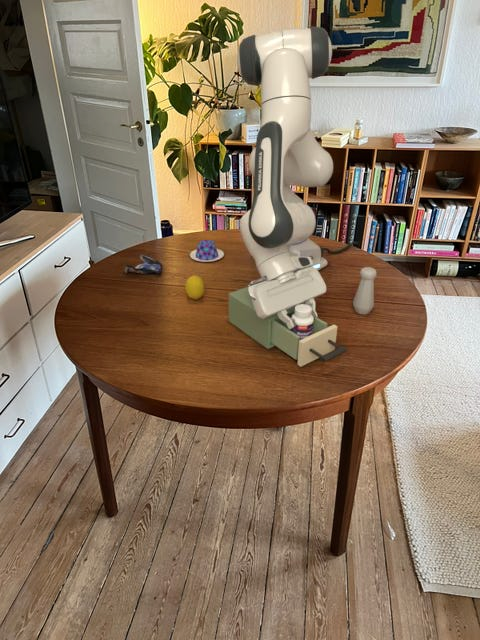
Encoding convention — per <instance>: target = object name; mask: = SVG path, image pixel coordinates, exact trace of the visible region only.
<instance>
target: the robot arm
mask: <svg viewBox="0 0 480 640" xmlns="http://www.w3.org/2000/svg"><path fill="white" fill-rule="evenodd" d="M331 41H332V40H331V39H330V36H329V33H328V32H327V30H326V29H325V28H324V27H320V26H310V28H309V27H293V28H292V27H290V28H283V29H281V30H274V31H269V32H265V33H261V34H258V35H256V34H252V35H249V36H247V37H245V38H243V39H242V40H241V41H240V43H239V45H238V51H237V54H236V65H237V69H238V72H239V74H240V77H241V80H242V81H243V82H244V83H246V84H247V85H249V86H255V87H259V86H260V85H261V86H260V107H261V108H260V109H261V111H260V113H261V115H260V117H261V119H260V127H259V130H258V133H257V136H256V141H255V147H254V148H253V149H252V151H250V152H251V153H250V154H249V157H248V170H249V172H250V175H251V176H252V177H253V196H252V202H251V207H250V209H248V210H247V211H245V213H244V214H243V215H242V216H241V218H240V219H239V224H238V225H239V232H240V235H241V238H242V241H243V243H244V245H245V247H246V249H247V251H248V253H249V255H250V256H251V258H253V260H254V263H255V268H256V270H257V272H258V274H259V276H260V277H259V278H257V279H253V280H251V281H249V283H248V285H247V286H246V287H247V290H248V293H249V295H250V297H251V299H252V302H253V305H254V308H255V311H256V313H257V316H258V317H259V318H261V319H265V318H268V317H270V316H273V315H275V314H277V315H278V317H279V319H281V320H282V321H283V322H285V323H286V324H287V326H288V328H289V329H292V328H294V327H296V326H297V323H296V322H295V319H290V318H289V317H288V316H287V315H286V314H287V311H286V310H287V309H290V308H292V307H295V306H296V305H299V304H302V303H305V304H306V305H309V306H310V307H311V308H312V313H311V315H312V316H313V318H314V319H315V318H316V317H317V318H319V317H318V313H317V310H316V300H315V299H316V298H319V297H321V296H323V295H324V294H325V293H327V285H326V282H325V280H324V278H323V277H322V275H321V273H320V272H319V270H322V269H323V268H325V267H326V266H328V265H329V263H328V260H327V259H326V258H324V251H325V252H328V253H329V254H339V253H342V252H344V251H346V250H348V249H349V248H350V247H352V246H354V245H356V246H360V243H359V242H358V241H352V242H350V243H349V244H347V245H346V246H344V247H343V248H341V249H337V250H330V249H329V248H328V247H323V246H320V245H319V244H317V243H316V242H315V241H313V240H312V239H311V237H312V235H313V234H314V232H315V229H316V227H317V219H316V214H315V212H314V210H313V208H312V207H311V206H309V204H307V203H305V202H304V200H303V199H302V198H300V196H298V195H297V194H296V193H295V192H294V191H293V190H292V188H291V186H295V187H301V188H318V187H324V186H325V185H326V184H327V183H328V182H329V181H330V179H331V178H332V175H333V173H334V161H333V158H332V156H331V154H330V153H329V152H328V151H327V150H326V149H325V148H323V147H322V146H321V145H320V144H319V142H318V141H317V139H316V138H315V136H314V133H313V131H312V129H311V124H312V123H311V121H312V98H311V97H312V96H311V86H310V85H311V84H310V78H311V79H312V80H314V79H317V78H319V77H322V76H323V75H325V74H326V73H327V71H328V70H329V67H330V64H331V61H332V56H333V45H332V42H331Z"/></svg>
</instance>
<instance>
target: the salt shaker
mask: <svg viewBox="0 0 480 640" xmlns="http://www.w3.org/2000/svg"><path fill="white" fill-rule="evenodd" d="M377 275H378V274H377V269H375V268H374V267H371V266H365V267H362V268H361V269H360V271H359V276H360V282H359V285H358V287H357V289H356V292H355V294H354V298H353V300H352V306H353V310H354V311H355V313H357V314H359V315H368V314H369V313H371V311H372V310H373V308H374V307H375V287H374V285H375V283H374V280H375V279H376V277H377Z"/></svg>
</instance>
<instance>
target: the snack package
mask: <svg viewBox="0 0 480 640" xmlns="http://www.w3.org/2000/svg"><path fill="white" fill-rule="evenodd" d="M139 258H140V260H141V261H143V263H139V264H138V265H136V266H135V267H134V266H133V265H130V264H126V265H125V268H124V270H123V271H124V272H125V274H128V272H129V273H136V274H137V273H138V274H141V275H143V274H144V275H146V274H151V273H155V274H158V275H160V274H161V272H162V267H163V265H162V262H160V261H159V260H155V259H153V258H152V257H149V256H147V255H145V254H140V255H139Z"/></svg>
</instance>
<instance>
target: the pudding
mask: <svg viewBox="0 0 480 640" xmlns="http://www.w3.org/2000/svg"><path fill="white" fill-rule="evenodd" d="M224 256H225V252H224V251H223V250H221V249H219V248H217V246H216V242H214V240H210V239H203V240H200V241H199V242H198V243H197V247H196V249H194V250H193V251H191V252H190V253H189V257H190V258H191V259H192V260H194V261H198V262H202V263H203V262H204V263H205V262H215V261H217V260H220V259H222V258H223V257H224Z"/></svg>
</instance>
